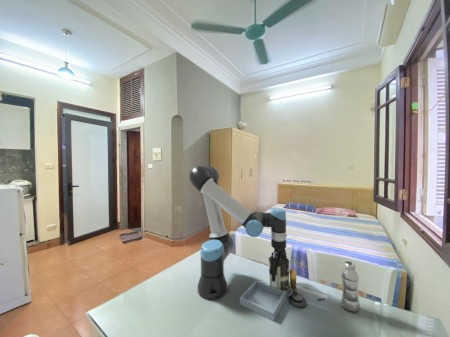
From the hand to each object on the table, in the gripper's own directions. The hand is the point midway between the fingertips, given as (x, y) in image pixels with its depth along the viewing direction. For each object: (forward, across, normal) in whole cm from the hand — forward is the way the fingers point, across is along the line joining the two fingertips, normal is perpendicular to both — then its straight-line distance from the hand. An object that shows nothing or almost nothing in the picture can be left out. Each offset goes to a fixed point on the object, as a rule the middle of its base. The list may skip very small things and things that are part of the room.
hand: (278, 280), depth 98 cm
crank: (+2, -3, -9) cm, 10 cm away
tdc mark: (+3, +2, -20) cm, 20 cm away
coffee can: (+3, 0, 0) cm, 3 cm away
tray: (+3, -15, +2) cm, 15 cm away
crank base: (+3, -6, -11) cm, 13 cm away
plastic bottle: (+4, +3, -31) cm, 31 cm away
